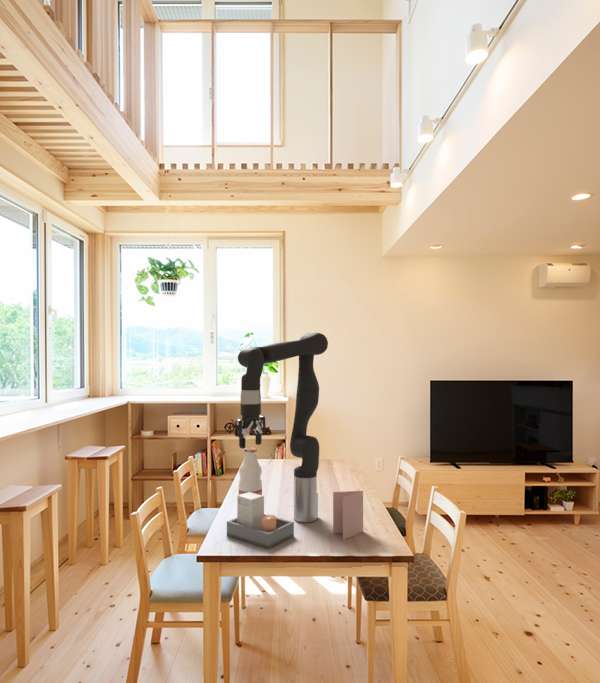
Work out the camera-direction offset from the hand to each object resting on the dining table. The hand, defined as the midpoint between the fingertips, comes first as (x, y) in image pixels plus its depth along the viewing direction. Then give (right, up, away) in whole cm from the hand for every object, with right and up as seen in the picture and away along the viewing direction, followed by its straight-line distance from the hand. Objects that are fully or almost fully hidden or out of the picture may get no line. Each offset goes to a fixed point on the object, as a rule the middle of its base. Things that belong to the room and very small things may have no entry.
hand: (250, 446), depth 167 cm
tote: (+4, -32, -3) cm, 32 cm away
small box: (0, -31, -1) cm, 31 cm away
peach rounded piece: (+8, -31, -7) cm, 32 cm away
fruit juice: (-2, -33, +15) cm, 36 cm away
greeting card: (+37, -32, -2) cm, 49 cm away
